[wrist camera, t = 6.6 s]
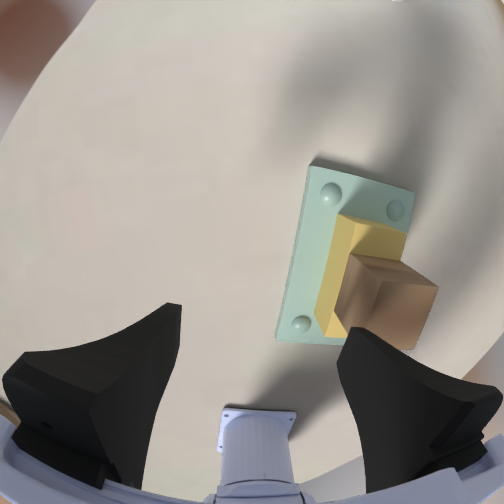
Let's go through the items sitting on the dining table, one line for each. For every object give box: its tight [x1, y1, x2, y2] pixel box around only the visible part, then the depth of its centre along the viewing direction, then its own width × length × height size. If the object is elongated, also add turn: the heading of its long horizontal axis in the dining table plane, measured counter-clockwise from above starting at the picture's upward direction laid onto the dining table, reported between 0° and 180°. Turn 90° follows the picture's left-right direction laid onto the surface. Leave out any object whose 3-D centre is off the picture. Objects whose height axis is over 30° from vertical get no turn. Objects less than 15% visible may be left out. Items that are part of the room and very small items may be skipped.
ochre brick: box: [314, 214, 407, 338], centre depth 18 cm, size 8×4×4 cm, turn 171°
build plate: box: [275, 166, 416, 345], centre depth 21 cm, size 14×9×1 cm, turn 171°
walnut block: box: [334, 253, 439, 350], centre depth 15 cm, size 4×4×4 cm
